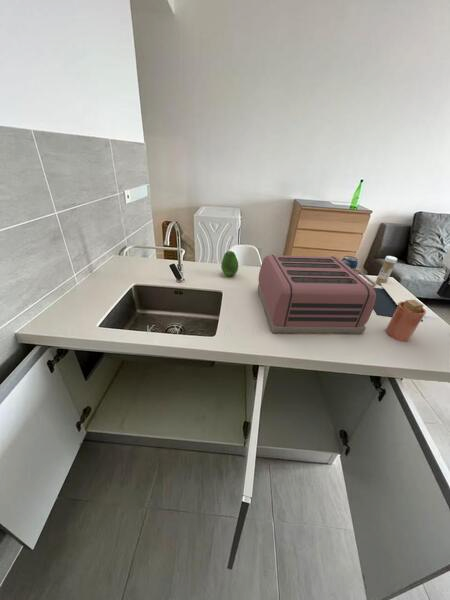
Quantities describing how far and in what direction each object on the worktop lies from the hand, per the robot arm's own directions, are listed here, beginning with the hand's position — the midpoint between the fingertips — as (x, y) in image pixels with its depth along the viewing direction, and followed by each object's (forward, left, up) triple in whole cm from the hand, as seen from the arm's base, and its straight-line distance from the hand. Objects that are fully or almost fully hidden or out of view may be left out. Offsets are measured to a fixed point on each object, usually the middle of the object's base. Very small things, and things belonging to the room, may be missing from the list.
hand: (444, 296), depth 64 cm
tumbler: (0, -10, -21) cm, 23 cm away
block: (0, -10, -11) cm, 15 cm away
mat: (-5, -33, -21) cm, 39 cm away
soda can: (+10, -48, -21) cm, 53 cm away
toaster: (+29, -18, -21) cm, 40 cm away
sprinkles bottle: (-8, -51, -21) cm, 55 cm away
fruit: (+64, -39, -21) cm, 77 cm away
